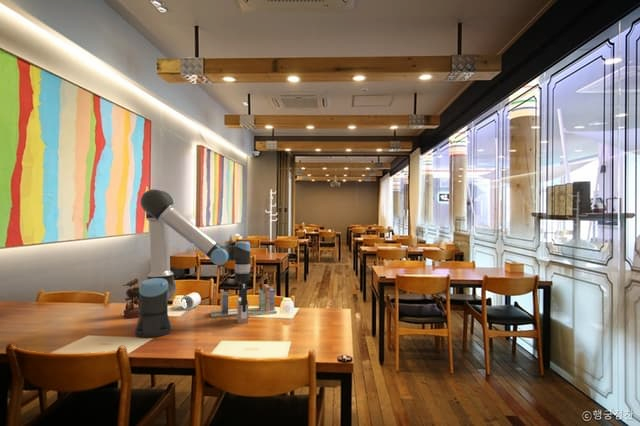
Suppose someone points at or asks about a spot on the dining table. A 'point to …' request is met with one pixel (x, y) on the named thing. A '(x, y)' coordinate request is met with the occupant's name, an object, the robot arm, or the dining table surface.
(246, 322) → the book
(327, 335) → the dining table surface
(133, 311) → the music box
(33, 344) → the dining table surface
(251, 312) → the rail
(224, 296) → the bookend
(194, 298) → the mug
